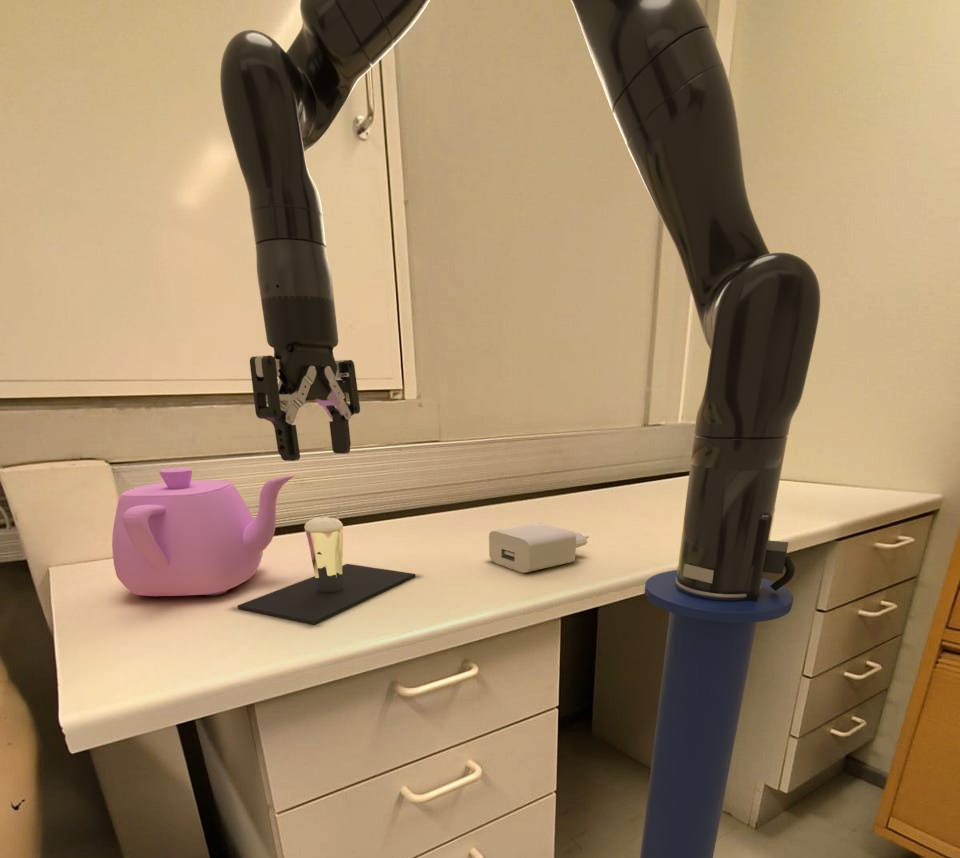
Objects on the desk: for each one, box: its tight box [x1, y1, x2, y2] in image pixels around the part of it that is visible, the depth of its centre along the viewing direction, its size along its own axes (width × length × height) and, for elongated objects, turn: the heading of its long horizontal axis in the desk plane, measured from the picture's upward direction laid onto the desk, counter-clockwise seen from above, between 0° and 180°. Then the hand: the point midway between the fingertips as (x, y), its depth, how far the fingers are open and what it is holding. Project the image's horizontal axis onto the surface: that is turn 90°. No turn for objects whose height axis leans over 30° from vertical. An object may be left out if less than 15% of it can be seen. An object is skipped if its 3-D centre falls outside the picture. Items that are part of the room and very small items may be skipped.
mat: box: [237, 563, 416, 626], centre depth 75 cm, size 12×20×1 cm, turn 152°
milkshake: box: [303, 505, 344, 593], centre depth 73 cm, size 4×5×10 cm
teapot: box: [111, 467, 295, 597], centre depth 74 cm, size 23×21×15 cm
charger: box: [488, 522, 590, 574], centre depth 87 cm, size 5×9×15 cm
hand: (317, 456), depth 68 cm, fingers open, 8 cm apart
